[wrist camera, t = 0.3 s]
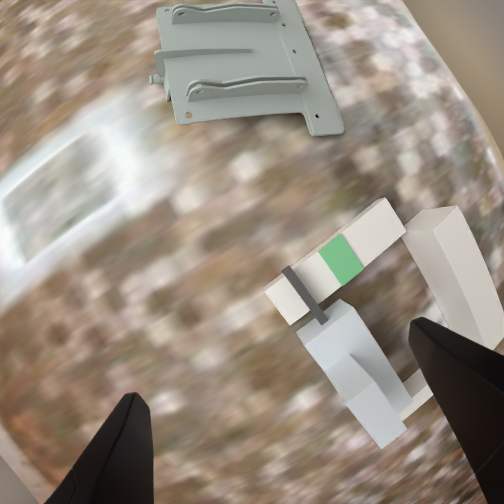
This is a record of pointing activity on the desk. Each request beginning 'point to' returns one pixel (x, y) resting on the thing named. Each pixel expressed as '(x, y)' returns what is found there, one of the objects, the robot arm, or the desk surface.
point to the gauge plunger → (354, 365)
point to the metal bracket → (242, 64)
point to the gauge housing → (428, 261)
